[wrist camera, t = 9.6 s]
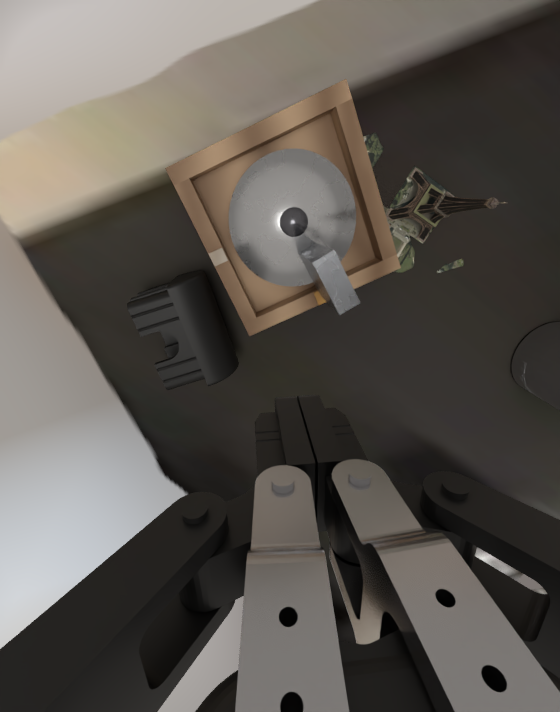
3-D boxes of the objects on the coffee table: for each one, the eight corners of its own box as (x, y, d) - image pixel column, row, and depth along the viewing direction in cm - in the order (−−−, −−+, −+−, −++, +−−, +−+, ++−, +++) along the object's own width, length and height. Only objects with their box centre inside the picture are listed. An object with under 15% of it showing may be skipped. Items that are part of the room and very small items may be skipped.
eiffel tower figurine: (351, 137, 33) (415, 92, 21) (454, 107, 33) (580, 44, 21) (375, 289, 39) (436, 324, 27) (463, 264, 39) (566, 287, 27)
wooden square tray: (333, 95, 31) (347, 77, 27) (385, 262, 37) (402, 268, 33) (174, 173, 32) (164, 167, 28) (249, 324, 38) (249, 337, 34)
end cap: (239, 352, 40) (239, 377, 33) (180, 370, 40) (168, 399, 33) (207, 265, 36) (200, 275, 30) (141, 286, 36) (120, 301, 30)
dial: (204, 196, 31) (190, 189, 23) (315, 125, 30) (344, 90, 21) (276, 315, 36) (286, 345, 27) (374, 257, 34) (416, 270, 26)
